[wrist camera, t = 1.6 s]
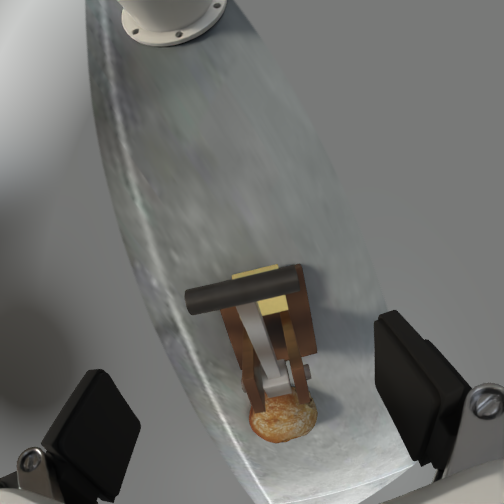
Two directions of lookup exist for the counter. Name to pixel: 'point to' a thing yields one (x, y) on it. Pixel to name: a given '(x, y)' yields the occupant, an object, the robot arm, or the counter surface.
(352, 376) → the counter surface
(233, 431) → the counter surface
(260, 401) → the cutter
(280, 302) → the butter
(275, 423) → the bread roll
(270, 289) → the arm
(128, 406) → the robot arm
